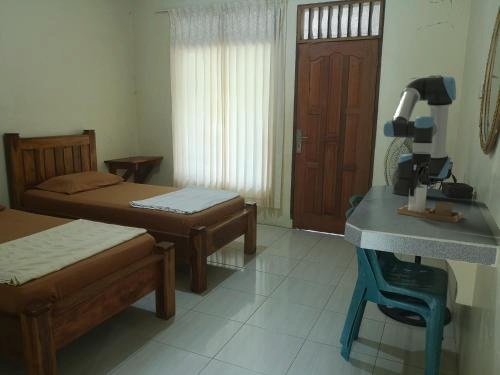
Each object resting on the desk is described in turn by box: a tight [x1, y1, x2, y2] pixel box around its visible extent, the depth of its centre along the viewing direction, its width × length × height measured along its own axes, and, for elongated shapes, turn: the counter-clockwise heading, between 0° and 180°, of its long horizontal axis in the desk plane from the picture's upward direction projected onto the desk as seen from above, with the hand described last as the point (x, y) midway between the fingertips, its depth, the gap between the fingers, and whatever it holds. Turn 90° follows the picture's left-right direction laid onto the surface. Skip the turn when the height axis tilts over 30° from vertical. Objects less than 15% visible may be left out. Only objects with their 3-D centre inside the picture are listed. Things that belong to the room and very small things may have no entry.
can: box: [408, 185, 427, 212], centre depth 169 cm, size 6×6×12 cm
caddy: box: [397, 204, 464, 224], centre depth 166 cm, size 12×23×3 cm, turn 48°
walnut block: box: [434, 201, 454, 217], centre depth 162 cm, size 6×6×6 cm
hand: (417, 201), depth 169 cm, fingers open, 13 cm apart
